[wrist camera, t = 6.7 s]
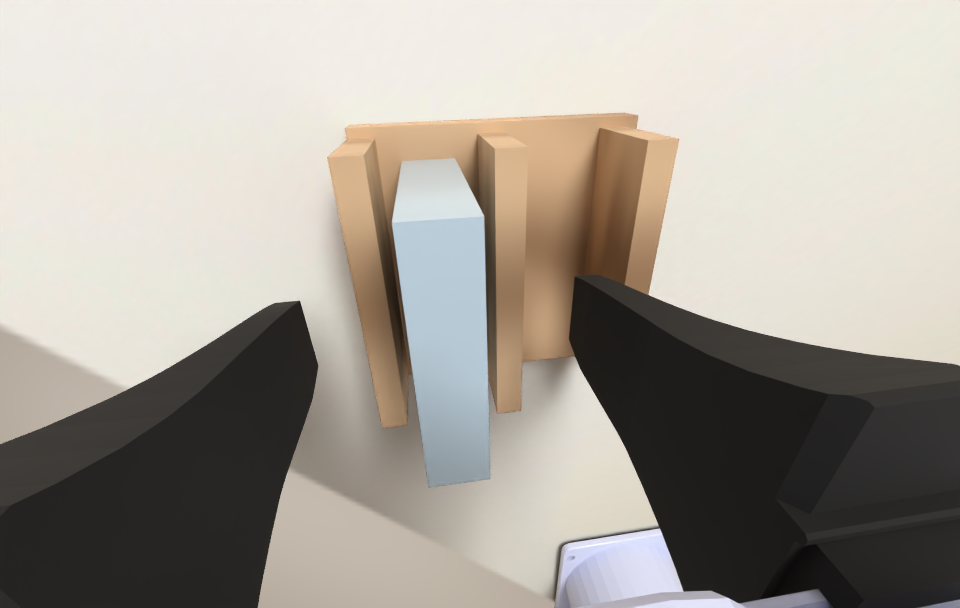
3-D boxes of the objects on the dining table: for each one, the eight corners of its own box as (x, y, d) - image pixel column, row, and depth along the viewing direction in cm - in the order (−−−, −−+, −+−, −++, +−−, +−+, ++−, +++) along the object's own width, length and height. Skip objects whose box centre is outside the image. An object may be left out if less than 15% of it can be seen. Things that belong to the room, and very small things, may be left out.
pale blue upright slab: (465, 346, 16) (489, 479, 11) (423, 351, 16) (428, 487, 10) (455, 157, 12) (483, 216, 7) (401, 160, 12) (391, 222, 7)
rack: (593, 339, 18) (637, 402, 14) (390, 361, 17) (383, 434, 13) (623, 113, 13) (696, 124, 10) (349, 124, 12) (324, 142, 9)
